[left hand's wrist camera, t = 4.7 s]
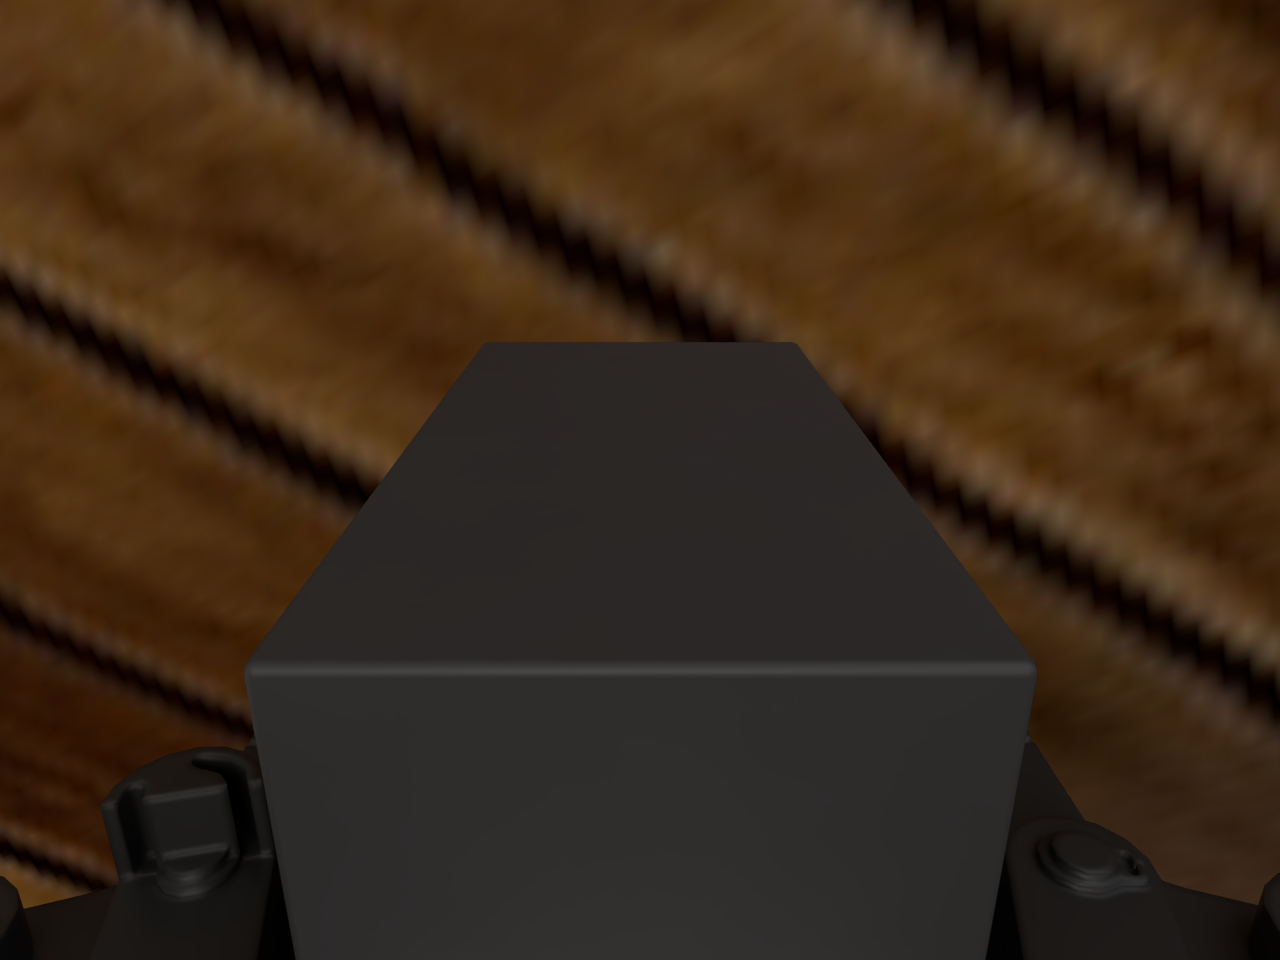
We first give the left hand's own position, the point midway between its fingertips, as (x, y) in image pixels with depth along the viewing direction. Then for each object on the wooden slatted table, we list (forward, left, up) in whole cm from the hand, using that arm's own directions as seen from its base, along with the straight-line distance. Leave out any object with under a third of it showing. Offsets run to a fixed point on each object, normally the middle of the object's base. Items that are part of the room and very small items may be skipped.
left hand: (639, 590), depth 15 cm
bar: (-4, +7, -1) cm, 8 cm away
